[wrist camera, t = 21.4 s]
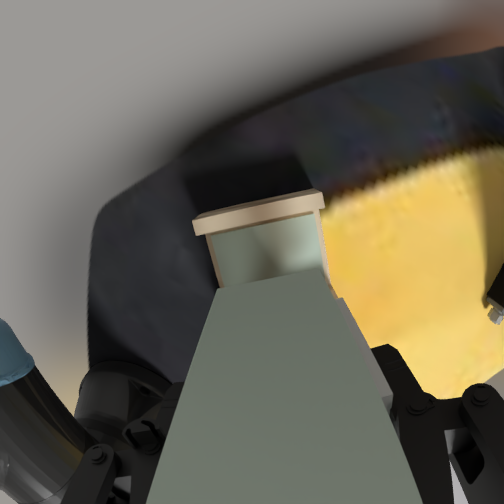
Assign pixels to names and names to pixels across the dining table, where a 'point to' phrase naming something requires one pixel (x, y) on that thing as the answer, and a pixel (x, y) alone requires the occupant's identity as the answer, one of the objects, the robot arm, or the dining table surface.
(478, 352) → the dining table surface
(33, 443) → the robot arm
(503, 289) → the electrical component
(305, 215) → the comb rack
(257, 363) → the sage plug
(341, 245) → the dining table surface
